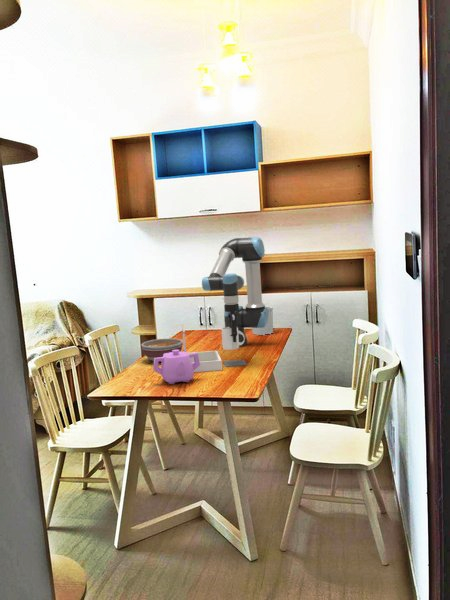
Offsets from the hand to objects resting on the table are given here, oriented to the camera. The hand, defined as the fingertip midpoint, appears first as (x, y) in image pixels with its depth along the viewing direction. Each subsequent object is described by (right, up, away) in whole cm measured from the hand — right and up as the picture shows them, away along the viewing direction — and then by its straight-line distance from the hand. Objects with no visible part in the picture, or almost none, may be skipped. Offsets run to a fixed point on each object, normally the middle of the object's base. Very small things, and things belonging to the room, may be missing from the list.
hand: (233, 346), depth 296 cm
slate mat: (+1, -9, +1) cm, 9 cm away
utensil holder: (+21, +2, +81) cm, 84 cm away
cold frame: (-16, -10, +1) cm, 19 cm away
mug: (0, -1, -1) cm, 1 cm away
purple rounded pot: (-27, -15, -26) cm, 40 cm away
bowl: (-39, -9, +20) cm, 45 cm away
